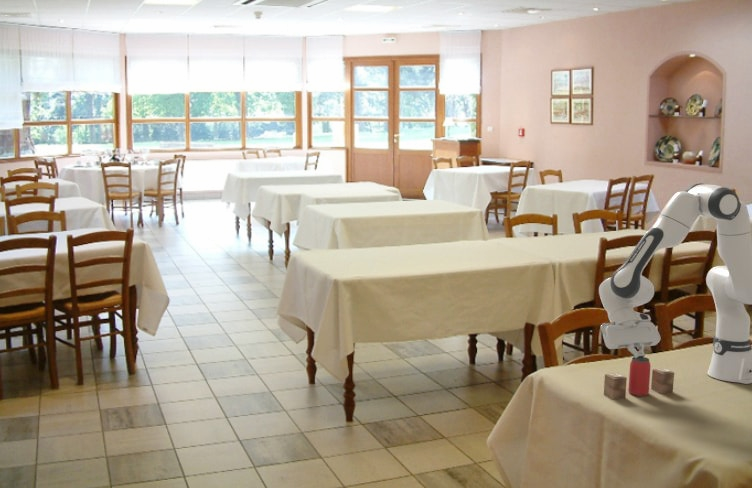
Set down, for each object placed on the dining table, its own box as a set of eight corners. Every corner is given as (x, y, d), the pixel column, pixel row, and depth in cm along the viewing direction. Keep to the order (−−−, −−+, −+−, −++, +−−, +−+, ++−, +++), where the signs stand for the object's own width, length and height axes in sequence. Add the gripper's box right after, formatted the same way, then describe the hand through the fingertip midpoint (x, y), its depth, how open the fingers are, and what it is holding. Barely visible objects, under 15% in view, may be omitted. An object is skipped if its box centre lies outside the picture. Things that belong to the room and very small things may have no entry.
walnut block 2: (663, 387, 305) (664, 367, 303) (672, 392, 300) (674, 371, 299) (651, 389, 303) (652, 368, 302) (660, 393, 298) (662, 372, 297)
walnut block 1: (616, 393, 298) (617, 372, 297) (625, 397, 293) (626, 376, 292) (603, 394, 296) (605, 373, 295) (612, 399, 292) (613, 378, 291)
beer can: (649, 397, 294) (652, 362, 292) (628, 395, 296) (631, 361, 294) (647, 390, 301) (650, 356, 299) (627, 389, 302) (629, 355, 300)
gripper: (602, 318, 297) (618, 354, 290) (653, 315, 305) (670, 350, 297) (594, 328, 302) (609, 364, 295) (644, 324, 309) (660, 359, 302)
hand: (640, 357), depth 296 cm, fingers closed, pressing on beer can
